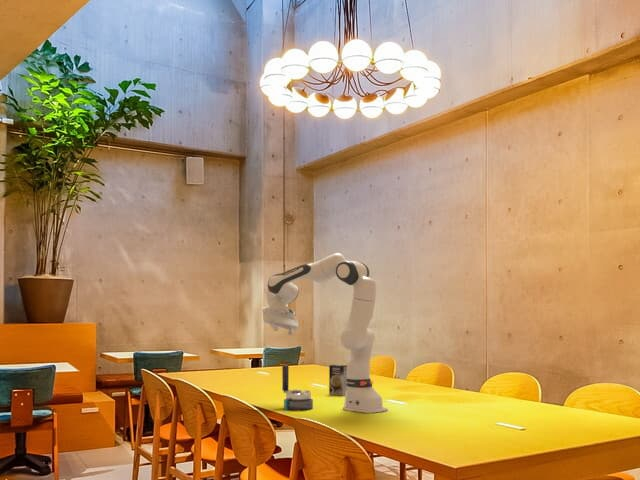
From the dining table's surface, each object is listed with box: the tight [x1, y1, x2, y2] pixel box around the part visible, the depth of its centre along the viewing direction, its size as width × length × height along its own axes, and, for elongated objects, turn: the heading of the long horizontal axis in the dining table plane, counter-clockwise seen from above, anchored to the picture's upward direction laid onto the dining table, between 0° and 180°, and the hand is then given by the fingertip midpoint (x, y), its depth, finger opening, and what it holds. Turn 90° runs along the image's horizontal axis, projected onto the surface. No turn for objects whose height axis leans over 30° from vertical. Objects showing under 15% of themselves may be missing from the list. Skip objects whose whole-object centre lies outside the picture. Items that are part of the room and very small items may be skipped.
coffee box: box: [328, 364, 347, 397], centre depth 370 cm, size 9×6×16 cm
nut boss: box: [283, 398, 314, 411], centre depth 323 cm, size 14×15×5 cm
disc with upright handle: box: [281, 364, 312, 401], centre depth 324 cm, size 14×12×16 cm
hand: (283, 332), depth 336 cm, fingers open, 8 cm apart
